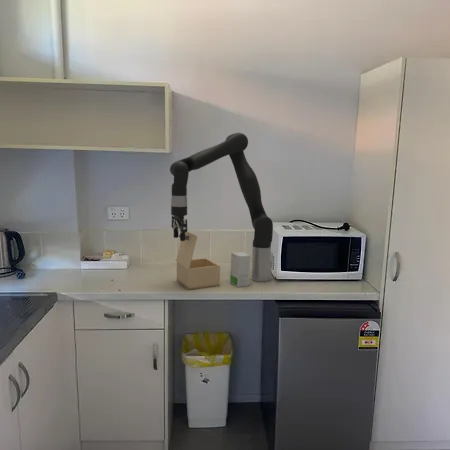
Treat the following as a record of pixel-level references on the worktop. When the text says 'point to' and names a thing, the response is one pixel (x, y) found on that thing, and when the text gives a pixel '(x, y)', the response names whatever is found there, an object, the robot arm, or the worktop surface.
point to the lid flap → (186, 250)
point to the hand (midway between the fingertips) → (179, 239)
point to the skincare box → (240, 269)
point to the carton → (199, 274)
